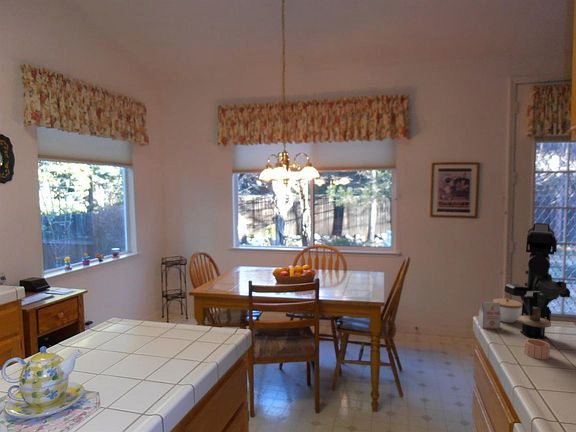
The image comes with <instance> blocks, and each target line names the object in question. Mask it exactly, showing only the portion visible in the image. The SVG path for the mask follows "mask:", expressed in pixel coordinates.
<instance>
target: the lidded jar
mask: <svg viewBox="0 0 576 432" xmlns="http://www.w3.org/2000/svg"><path fill="white" fill-rule="evenodd" d="M492 302H499V304H500V312H501V320H500V322H504V323H511V324H512V323H515V322H516V321H517V320H519V316H521V315H522V304H523V303H522V302H520V301H517V300H514V299H510V297H509V298H508V297H506V298H494V299H493V300H492Z"/></svg>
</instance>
